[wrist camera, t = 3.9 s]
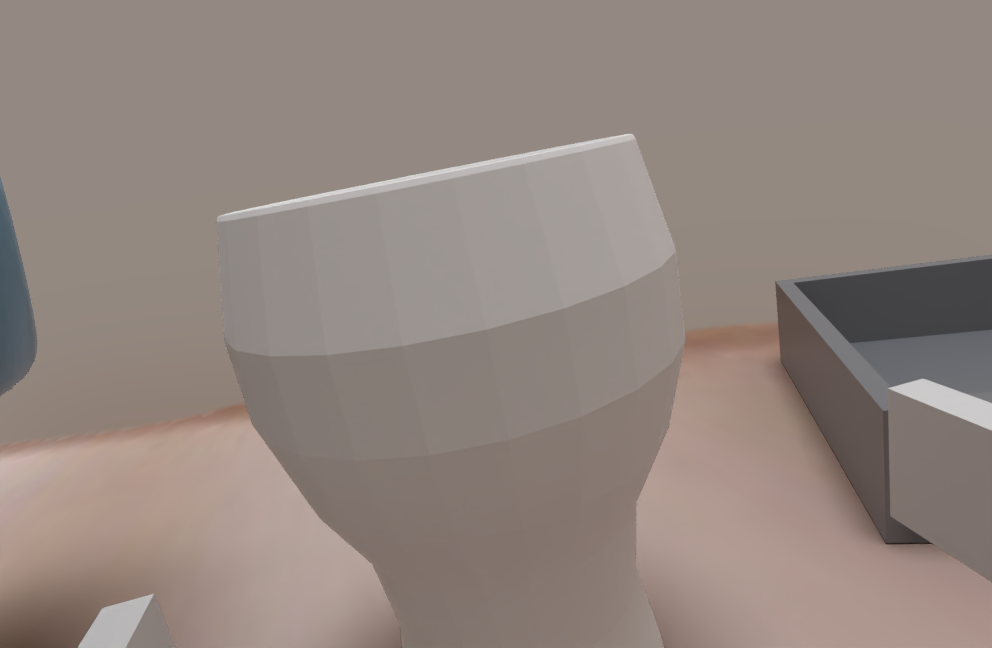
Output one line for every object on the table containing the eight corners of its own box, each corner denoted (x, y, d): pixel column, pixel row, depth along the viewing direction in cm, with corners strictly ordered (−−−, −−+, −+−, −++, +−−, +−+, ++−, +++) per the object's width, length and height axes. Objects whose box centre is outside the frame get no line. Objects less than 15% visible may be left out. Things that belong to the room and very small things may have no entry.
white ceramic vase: (331, 651, 21) (193, 219, 17) (588, 528, 25) (523, 153, 21) (430, 1012, 12) (171, 227, 8) (820, 722, 15) (782, 104, 11)
